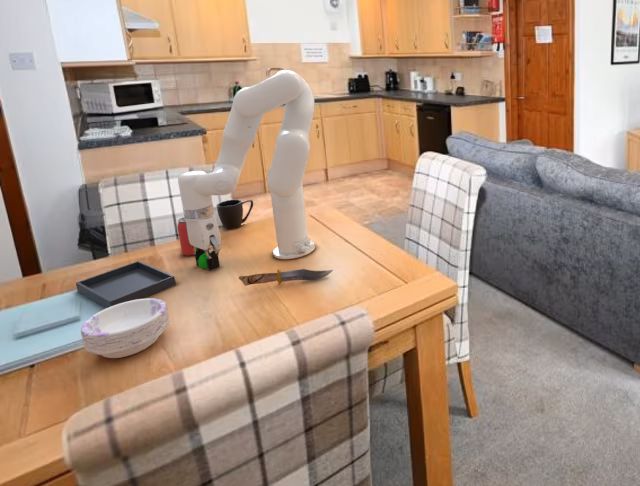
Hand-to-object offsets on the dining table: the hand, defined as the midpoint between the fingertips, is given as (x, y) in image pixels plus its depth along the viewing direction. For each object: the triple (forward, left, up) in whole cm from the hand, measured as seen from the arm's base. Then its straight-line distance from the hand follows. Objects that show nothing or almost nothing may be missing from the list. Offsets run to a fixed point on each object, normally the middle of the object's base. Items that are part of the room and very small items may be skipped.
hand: (208, 266), depth 144 cm
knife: (-32, -5, -1) cm, 32 cm away
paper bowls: (-24, +30, -1) cm, 38 cm away
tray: (+8, +18, -1) cm, 20 cm away
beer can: (+16, -4, -1) cm, 17 cm away
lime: (0, 0, -1) cm, 1 cm away
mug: (+26, -25, -1) cm, 36 cm away
